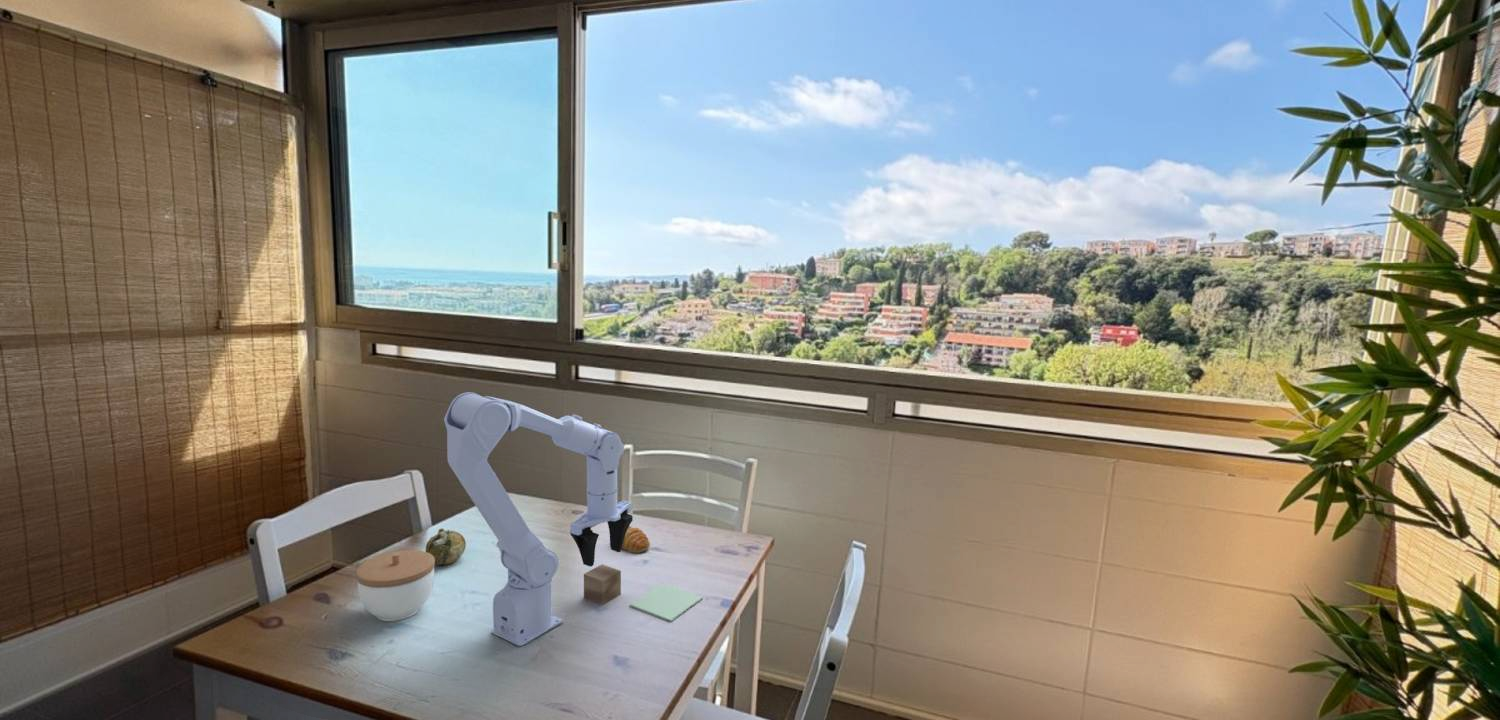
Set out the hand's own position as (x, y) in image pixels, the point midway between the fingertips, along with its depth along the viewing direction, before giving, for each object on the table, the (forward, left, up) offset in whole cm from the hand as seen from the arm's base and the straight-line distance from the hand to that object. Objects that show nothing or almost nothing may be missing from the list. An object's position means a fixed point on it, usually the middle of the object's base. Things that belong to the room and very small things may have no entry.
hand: (602, 557), depth 125 cm
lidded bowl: (-25, +27, -8) cm, 38 cm away
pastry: (+21, +11, -8) cm, 25 cm away
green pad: (+5, -12, -8) cm, 15 cm away
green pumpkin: (-8, +38, -8) cm, 40 cm away
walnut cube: (0, 0, -8) cm, 8 cm away
